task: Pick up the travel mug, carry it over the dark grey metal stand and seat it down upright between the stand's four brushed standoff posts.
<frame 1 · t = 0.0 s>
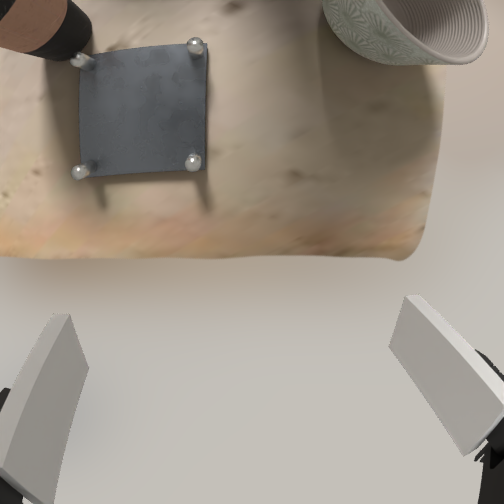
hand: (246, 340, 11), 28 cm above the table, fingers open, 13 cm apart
travel mug: (67, 36, 25), on the table
planter: (363, 18, 30), on the table
stand: (141, 109, 31), on the table
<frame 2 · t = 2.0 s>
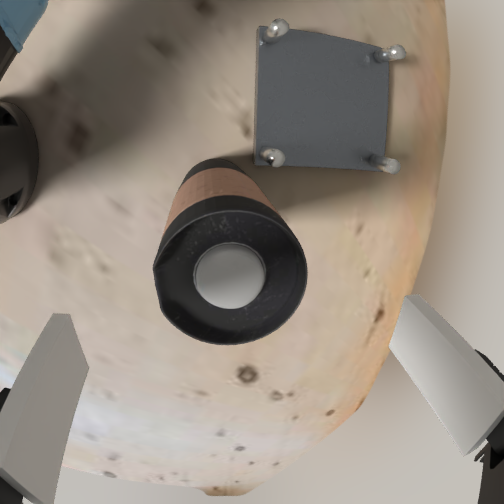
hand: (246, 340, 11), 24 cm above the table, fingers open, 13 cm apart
travel mug: (215, 190, 33), on the table
stand: (323, 99, 30), on the table
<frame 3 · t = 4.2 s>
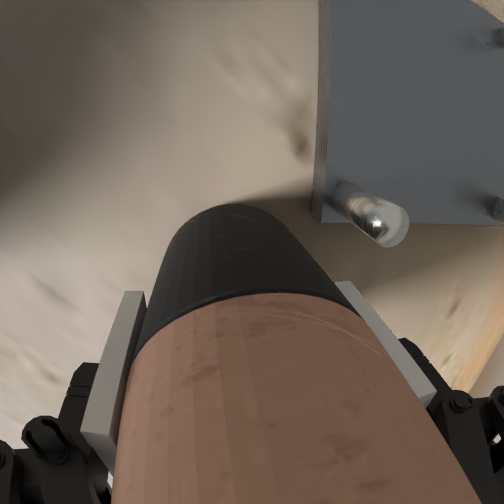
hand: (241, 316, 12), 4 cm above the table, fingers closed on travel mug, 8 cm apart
travel mug: (231, 268, 16), on the table, touching gripper
stand: (435, 95, 14), on the table
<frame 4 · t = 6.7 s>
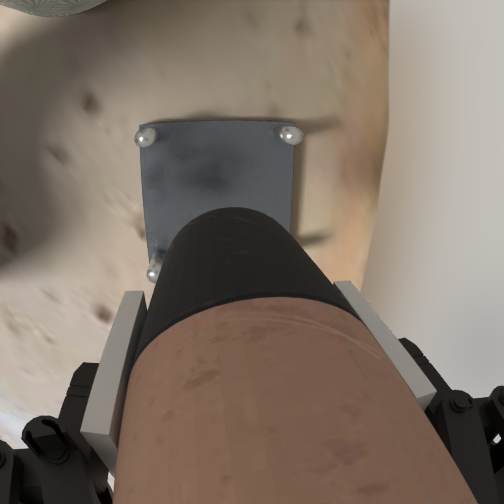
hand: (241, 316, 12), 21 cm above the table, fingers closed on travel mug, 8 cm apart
travel mug: (231, 269, 16), point 17 cm above the table, touching gripper
stand: (217, 193, 31), on the table
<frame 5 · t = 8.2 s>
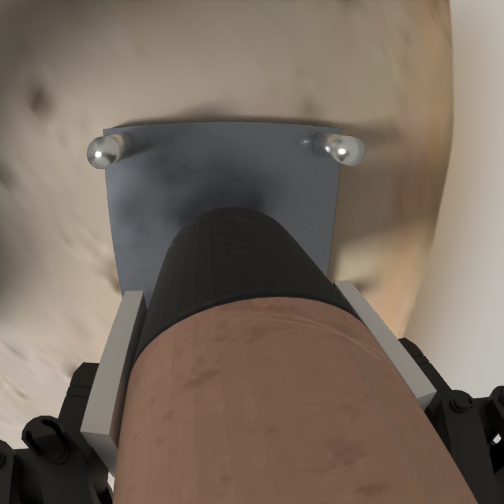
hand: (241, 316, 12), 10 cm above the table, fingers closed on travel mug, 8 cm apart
travel mug: (231, 269, 16), point 6 cm above the table, touching gripper
stand: (223, 231, 21), on the table
when the fingers open (7 cm above the table, at t = 9.1 s): travel mug drops 1 cm, resting on stand.
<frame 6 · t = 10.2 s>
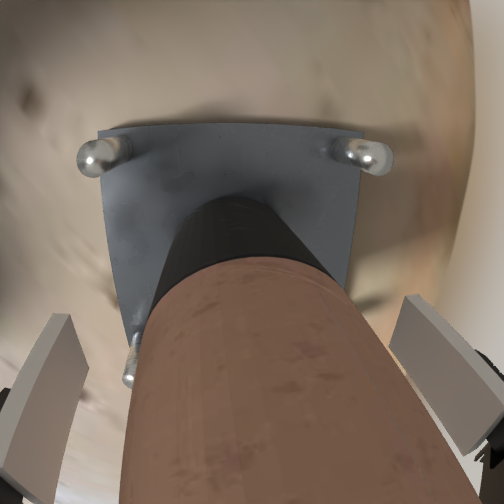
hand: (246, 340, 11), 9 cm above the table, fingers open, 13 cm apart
travel mug: (231, 253, 18), point 1 cm above the table, touching stand
stand: (231, 244, 19), on the table
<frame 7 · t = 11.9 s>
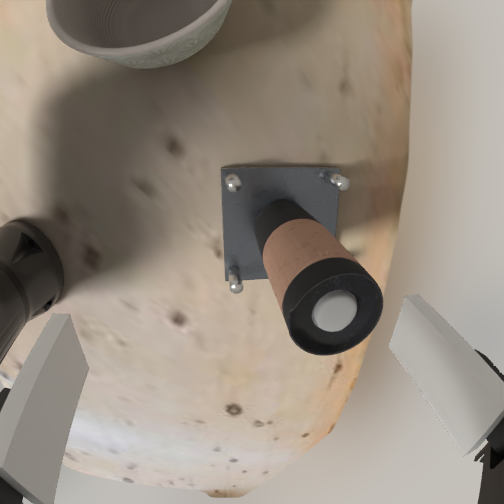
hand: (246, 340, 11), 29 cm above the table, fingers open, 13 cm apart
travel mug: (281, 225, 40), point 1 cm above the table, touching stand
planter: (163, 20, 28), on the table
stand: (279, 222, 41), on the table
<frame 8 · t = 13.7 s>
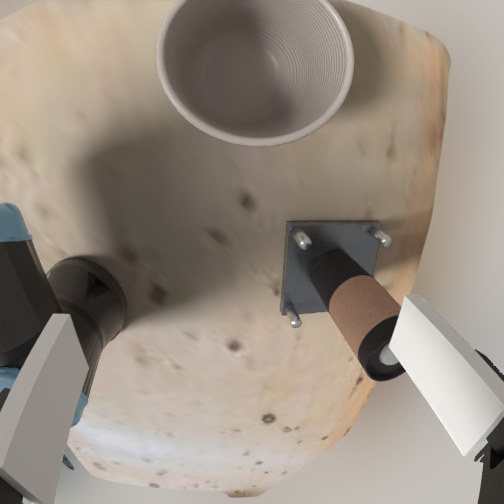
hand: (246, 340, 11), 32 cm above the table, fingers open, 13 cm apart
travel mug: (331, 270, 46), point 1 cm above the table, touching stand
planter: (239, 76, 35), on the table
stand: (329, 266, 48), on the table
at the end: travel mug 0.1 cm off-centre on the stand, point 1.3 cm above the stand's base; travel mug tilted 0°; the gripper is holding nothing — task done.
